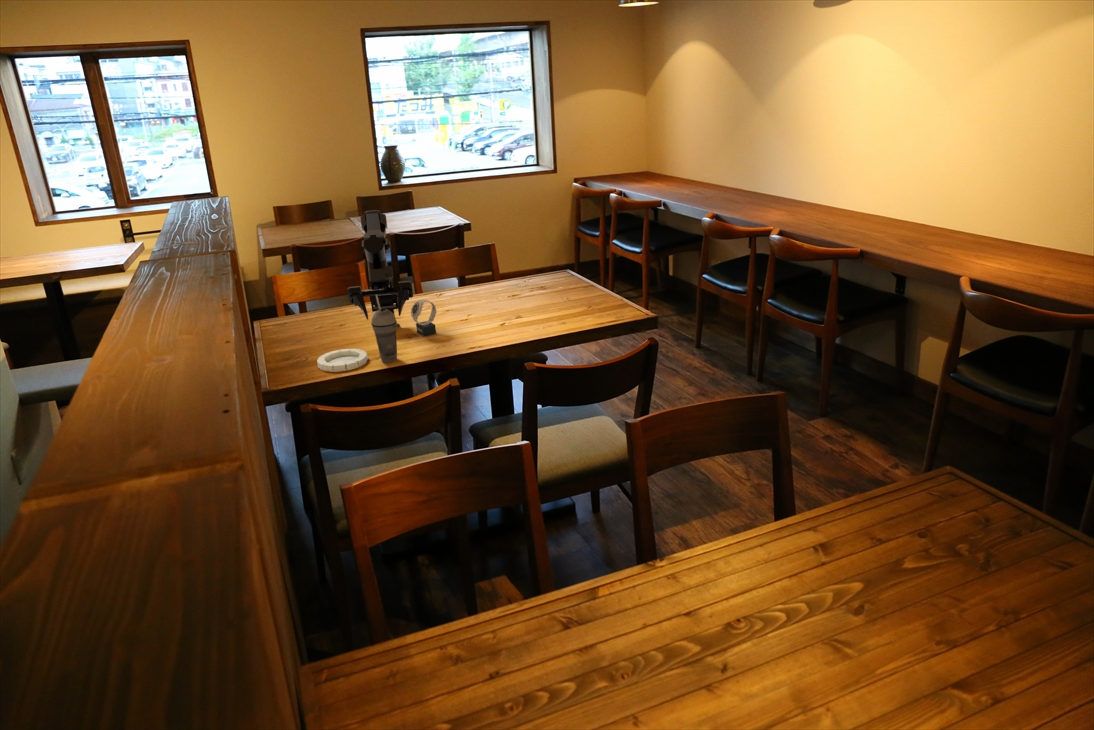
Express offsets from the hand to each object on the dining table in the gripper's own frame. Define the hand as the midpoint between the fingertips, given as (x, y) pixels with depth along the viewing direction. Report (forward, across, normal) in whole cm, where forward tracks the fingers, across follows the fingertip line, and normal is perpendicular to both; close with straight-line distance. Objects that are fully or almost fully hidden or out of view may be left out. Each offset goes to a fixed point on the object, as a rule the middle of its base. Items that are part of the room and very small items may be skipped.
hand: (383, 317), depth 216 cm
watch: (-4, +12, +22) cm, 25 cm away
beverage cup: (+11, 0, +7) cm, 13 cm away
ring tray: (+9, -13, +8) cm, 18 cm away
